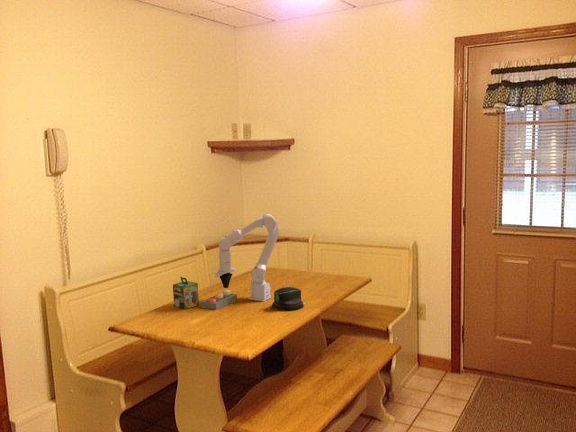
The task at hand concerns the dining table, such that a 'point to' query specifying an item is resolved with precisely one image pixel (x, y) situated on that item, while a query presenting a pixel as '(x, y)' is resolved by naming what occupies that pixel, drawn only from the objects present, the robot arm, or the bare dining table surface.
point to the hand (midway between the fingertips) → (226, 287)
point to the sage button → (226, 293)
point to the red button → (212, 300)
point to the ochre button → (219, 296)
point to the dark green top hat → (287, 299)
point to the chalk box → (185, 294)
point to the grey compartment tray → (219, 302)
